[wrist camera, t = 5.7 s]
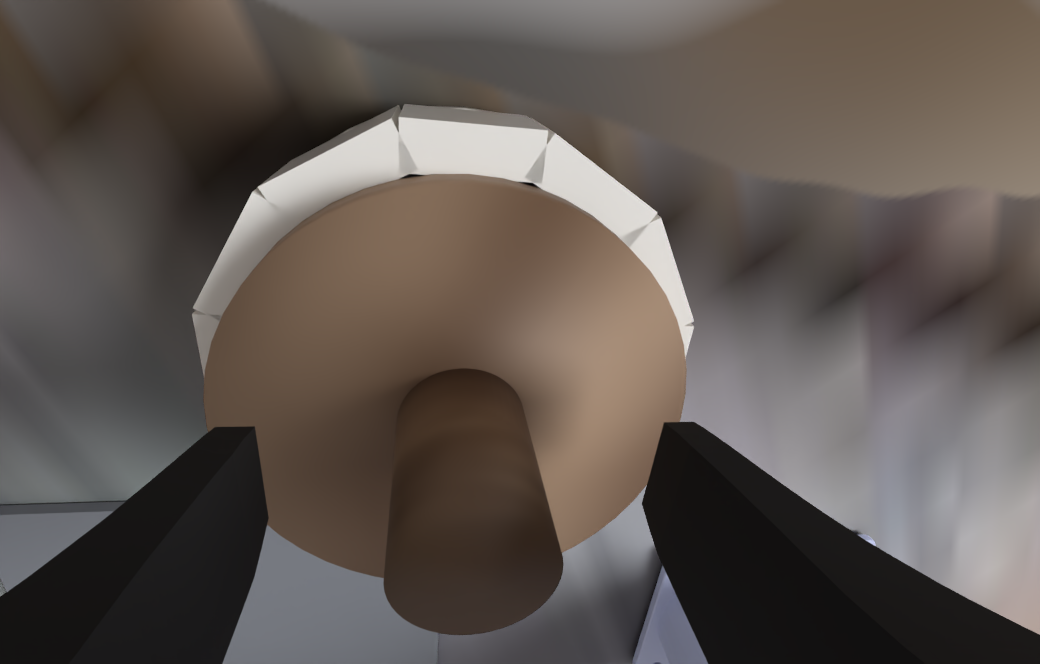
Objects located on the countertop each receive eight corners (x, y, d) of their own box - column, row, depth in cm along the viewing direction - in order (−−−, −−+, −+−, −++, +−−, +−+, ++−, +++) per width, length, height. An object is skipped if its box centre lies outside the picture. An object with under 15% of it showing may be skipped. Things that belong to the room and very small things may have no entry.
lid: (734, 223, 12) (915, 325, 7) (601, 556, 16) (666, 744, 12) (214, 121, 9) (24, 182, 5) (224, 545, 14) (129, 775, 9)
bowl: (672, 126, 14) (742, 147, 11) (602, 454, 19) (637, 534, 16) (221, 83, 12) (149, 94, 9) (272, 461, 17) (237, 553, 14)
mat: (445, 491, 19) (445, 499, 18) (436, 665, 23) (436, 675, 23) (-21, 506, 16) (-31, 516, 16) (70, 698, 21) (64, 709, 20)
